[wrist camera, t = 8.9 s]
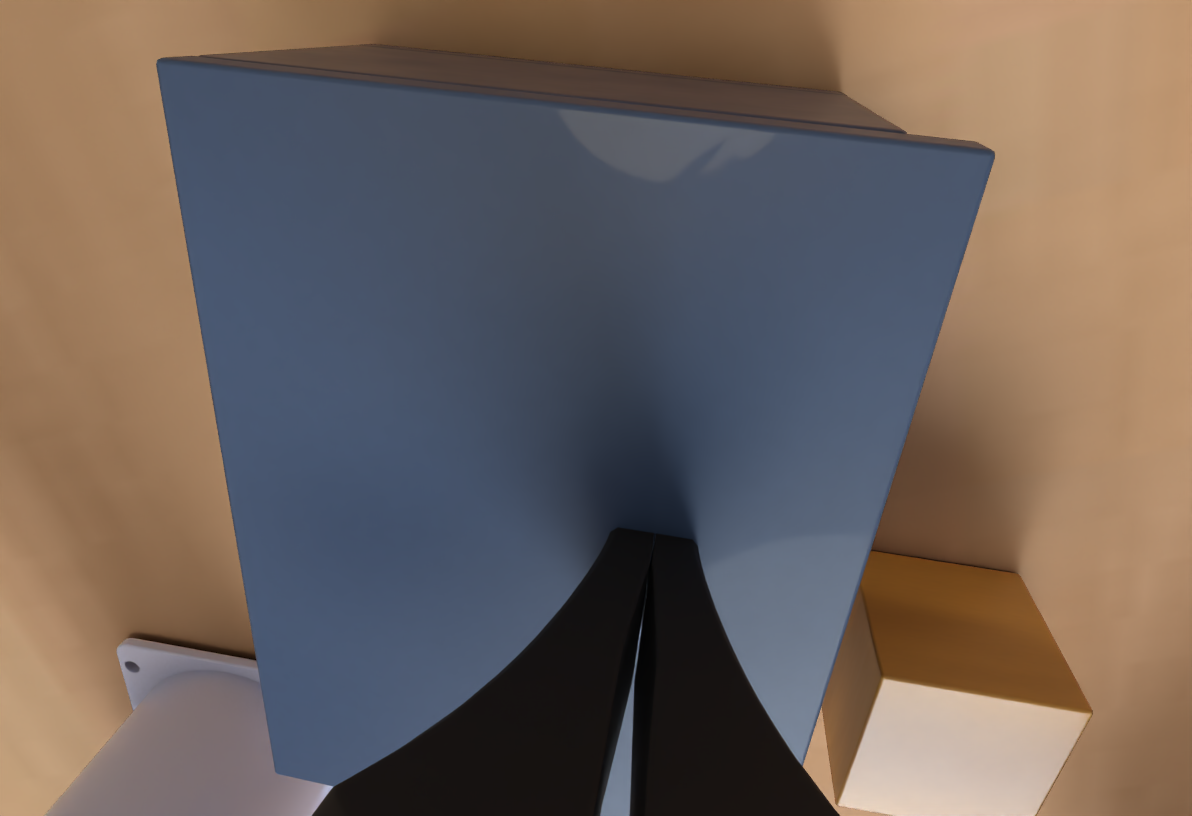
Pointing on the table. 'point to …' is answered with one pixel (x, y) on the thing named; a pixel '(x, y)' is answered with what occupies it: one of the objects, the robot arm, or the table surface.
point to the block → (948, 694)
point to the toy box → (582, 83)
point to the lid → (544, 373)
